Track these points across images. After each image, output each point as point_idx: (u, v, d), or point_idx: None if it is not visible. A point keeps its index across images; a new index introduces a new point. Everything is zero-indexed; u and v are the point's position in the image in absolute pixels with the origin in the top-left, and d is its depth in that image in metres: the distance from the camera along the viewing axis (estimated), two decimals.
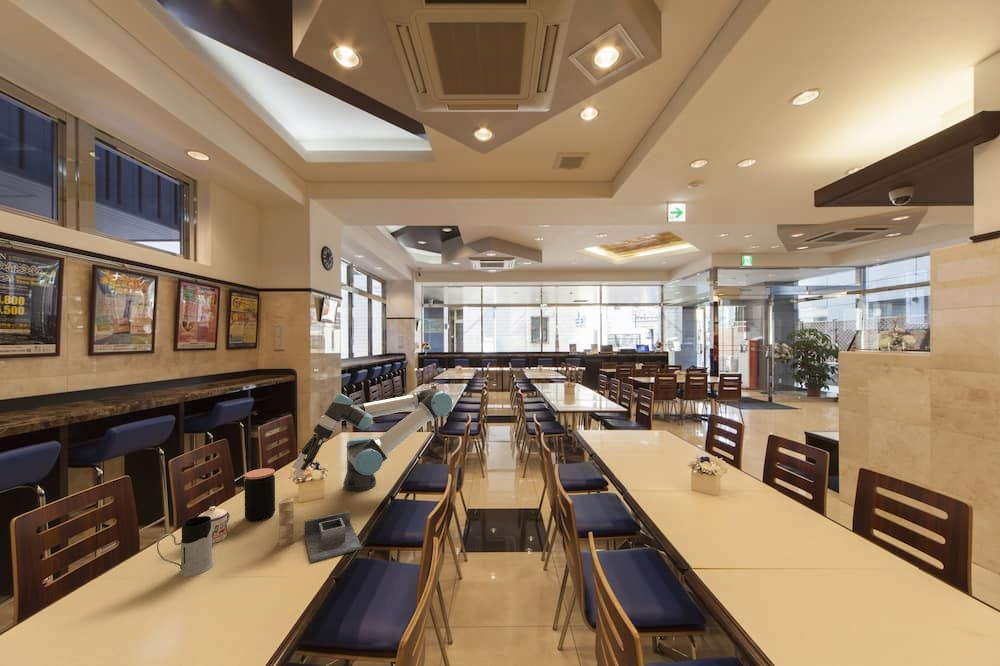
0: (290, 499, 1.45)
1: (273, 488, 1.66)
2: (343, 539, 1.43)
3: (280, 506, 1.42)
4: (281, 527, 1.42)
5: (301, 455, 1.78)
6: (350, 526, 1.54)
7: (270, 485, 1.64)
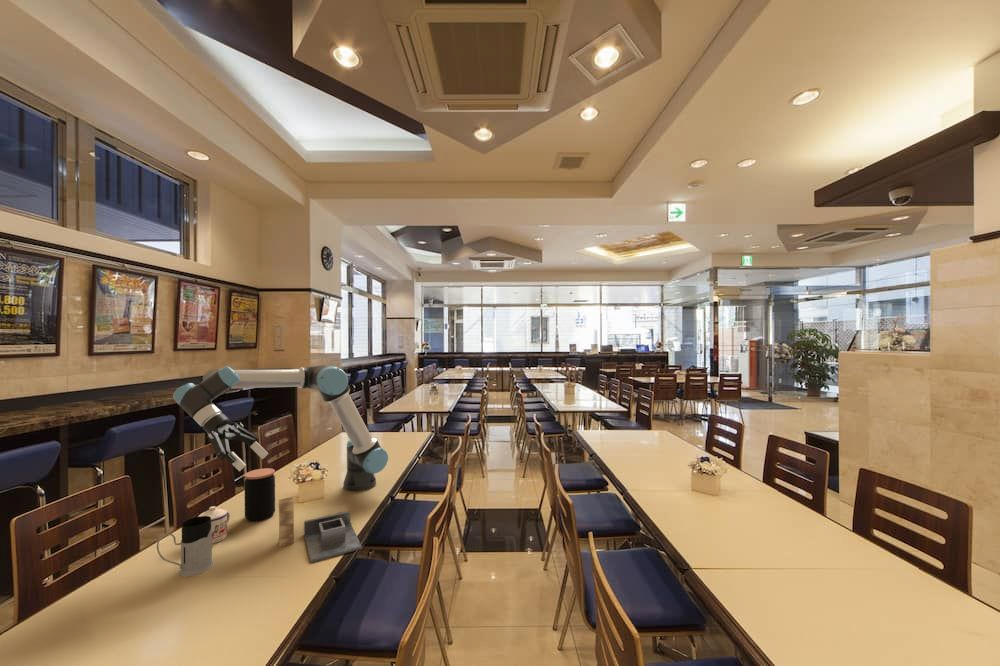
0: (290, 499, 1.45)
1: (273, 488, 1.66)
2: (343, 539, 1.43)
3: (280, 506, 1.42)
4: (281, 527, 1.42)
5: (252, 447, 1.51)
6: (350, 526, 1.54)
7: (270, 485, 1.64)
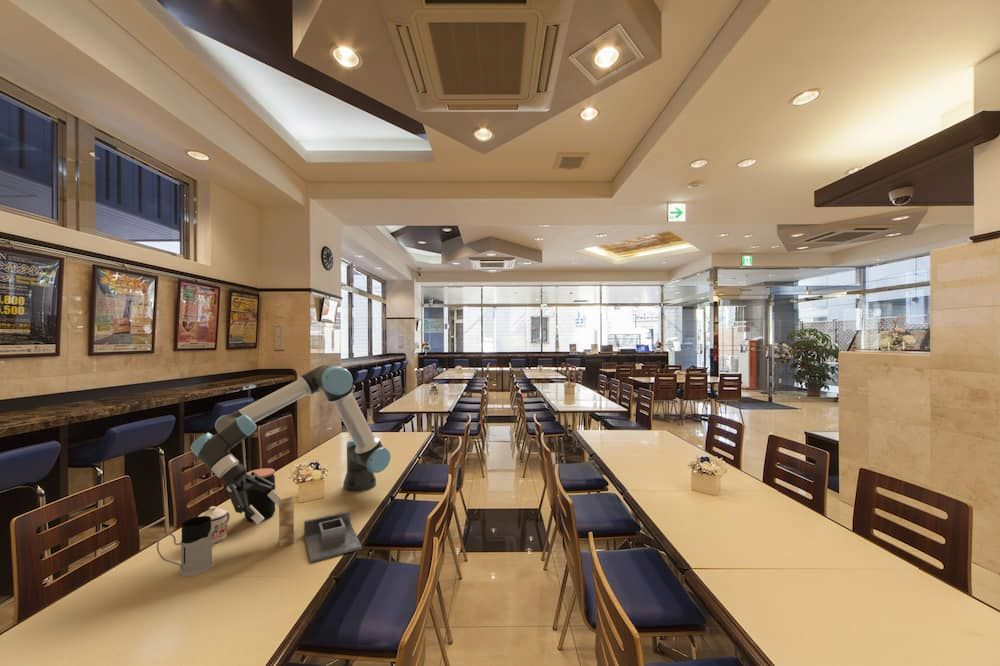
0: (290, 499, 1.45)
1: None
2: (343, 539, 1.43)
3: (280, 506, 1.42)
4: (281, 527, 1.42)
5: (269, 495, 1.50)
6: (350, 526, 1.54)
7: (270, 485, 1.64)
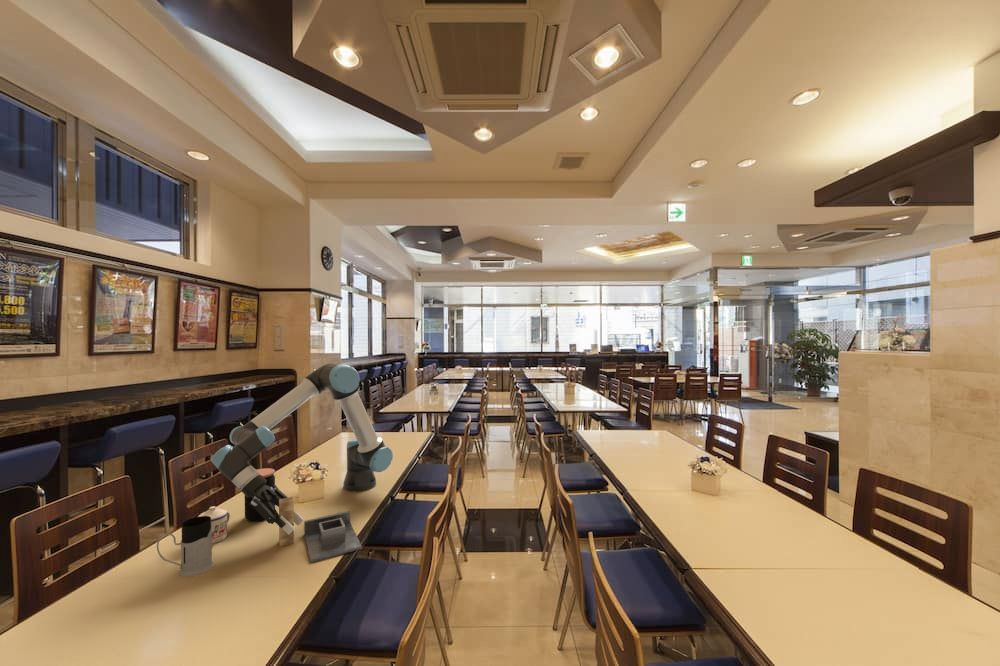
0: (290, 499, 1.45)
1: None
2: (343, 539, 1.43)
3: (280, 506, 1.42)
4: None
5: None
6: (350, 526, 1.54)
7: (270, 485, 1.64)
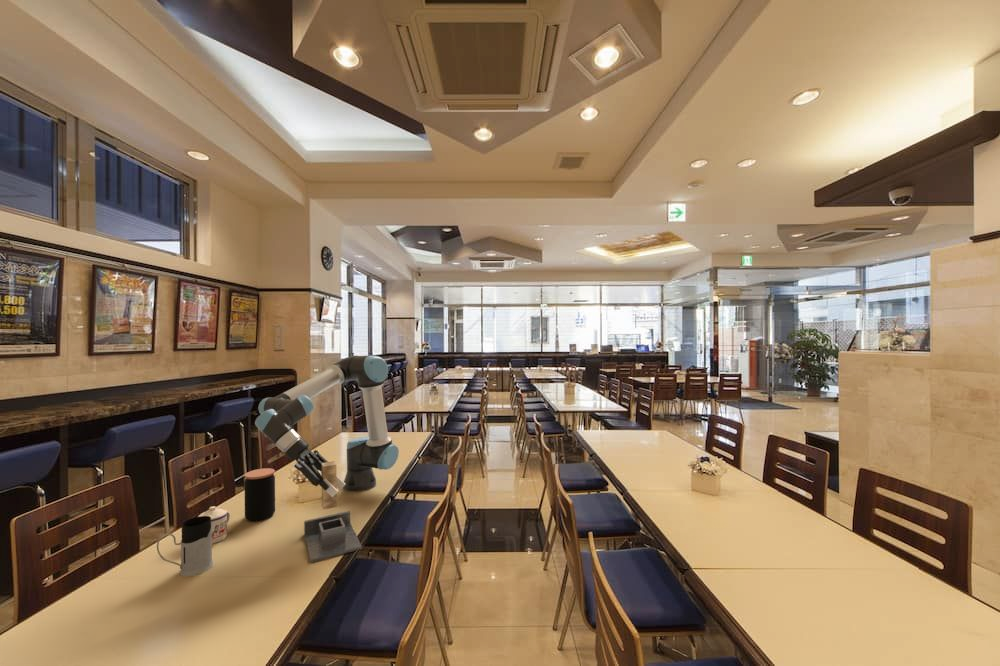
0: (332, 463, 1.45)
1: (273, 488, 1.66)
2: (343, 539, 1.43)
3: (323, 469, 1.42)
4: (324, 490, 1.42)
5: None
6: (350, 526, 1.54)
7: (270, 485, 1.64)
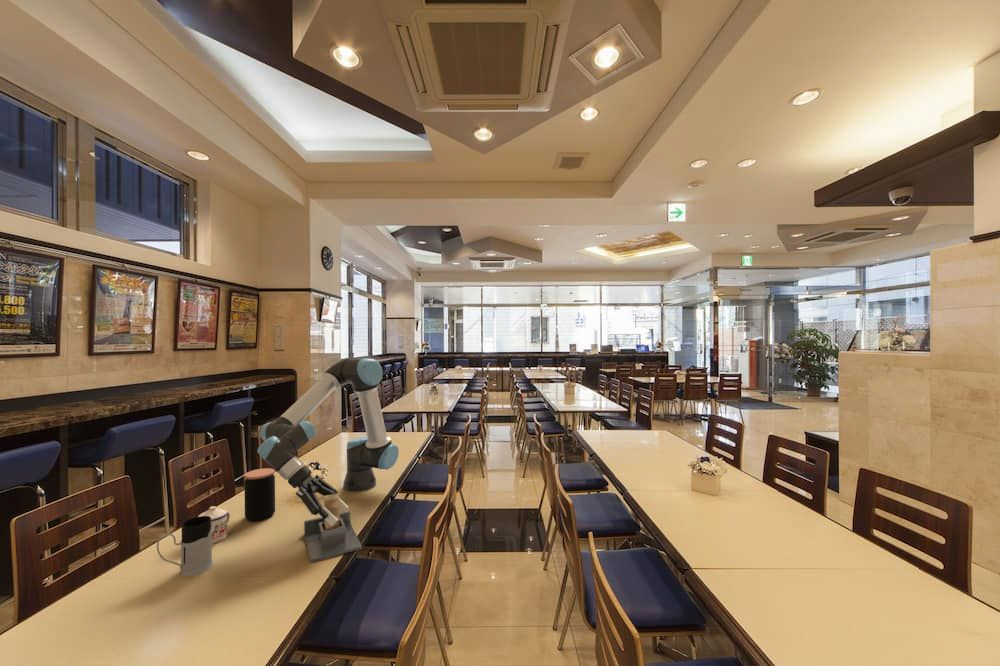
0: (335, 496, 1.45)
1: (273, 488, 1.66)
2: (343, 539, 1.43)
3: (326, 503, 1.42)
4: (327, 523, 1.42)
5: None
6: (350, 526, 1.54)
7: (270, 485, 1.64)
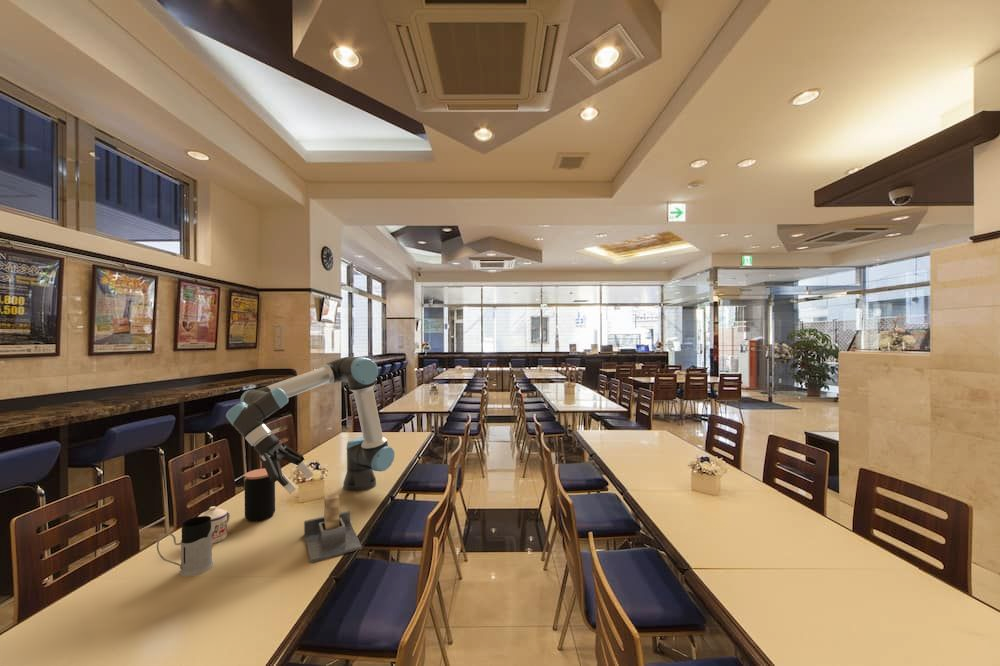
0: (335, 495, 1.46)
1: (273, 488, 1.66)
2: (343, 539, 1.43)
3: (326, 502, 1.42)
4: (327, 523, 1.42)
5: (298, 467, 1.52)
6: (350, 526, 1.54)
7: (270, 485, 1.64)
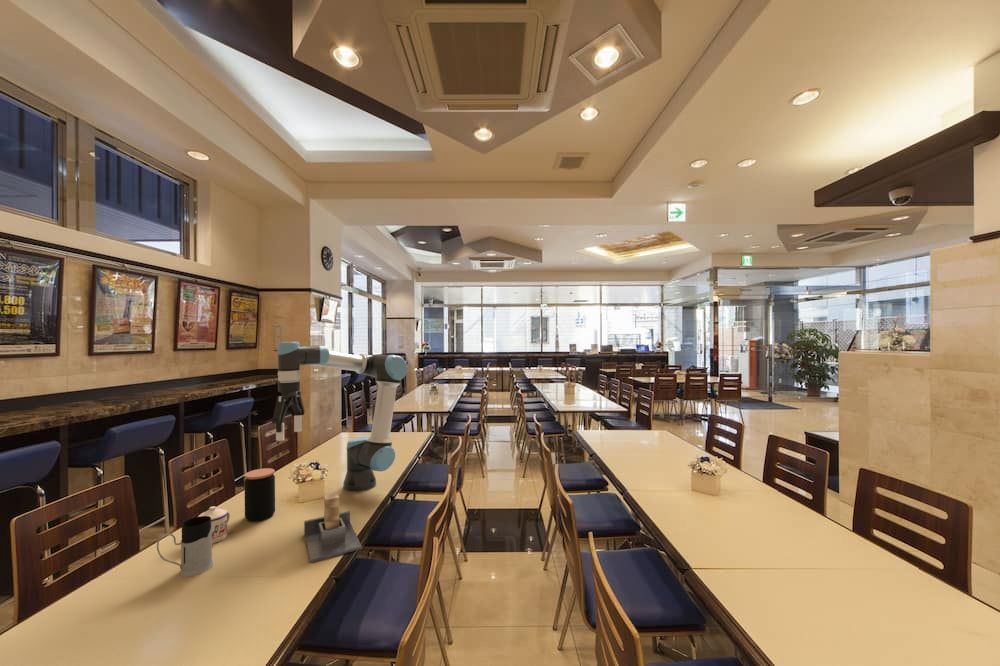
0: (335, 495, 1.46)
1: (273, 488, 1.66)
2: (343, 539, 1.43)
3: (326, 502, 1.42)
4: (327, 523, 1.42)
5: (295, 417, 1.64)
6: (350, 526, 1.54)
7: (270, 485, 1.64)
